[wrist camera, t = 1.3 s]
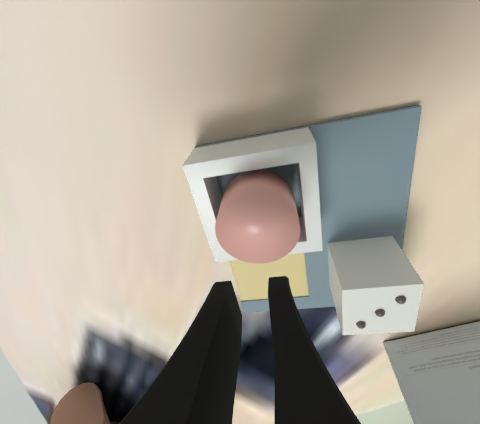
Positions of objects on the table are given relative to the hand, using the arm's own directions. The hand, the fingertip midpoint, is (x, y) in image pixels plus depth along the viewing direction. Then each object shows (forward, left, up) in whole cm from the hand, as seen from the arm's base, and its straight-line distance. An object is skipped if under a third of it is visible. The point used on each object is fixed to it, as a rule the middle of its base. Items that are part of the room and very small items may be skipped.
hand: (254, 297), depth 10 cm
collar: (0, 0, -9) cm, 9 cm away
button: (0, 0, -7) cm, 7 cm away
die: (-6, +7, -9) cm, 13 cm away
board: (-3, +4, -9) cm, 11 cm away
